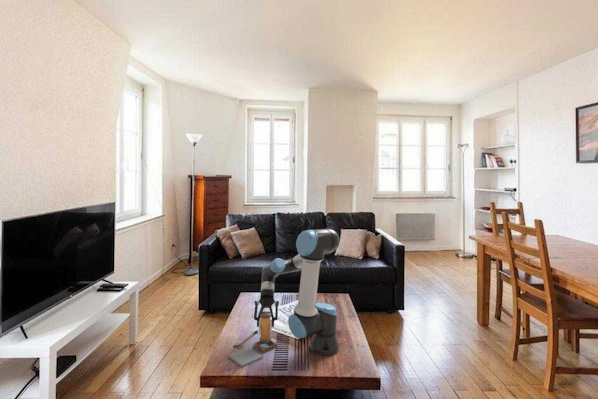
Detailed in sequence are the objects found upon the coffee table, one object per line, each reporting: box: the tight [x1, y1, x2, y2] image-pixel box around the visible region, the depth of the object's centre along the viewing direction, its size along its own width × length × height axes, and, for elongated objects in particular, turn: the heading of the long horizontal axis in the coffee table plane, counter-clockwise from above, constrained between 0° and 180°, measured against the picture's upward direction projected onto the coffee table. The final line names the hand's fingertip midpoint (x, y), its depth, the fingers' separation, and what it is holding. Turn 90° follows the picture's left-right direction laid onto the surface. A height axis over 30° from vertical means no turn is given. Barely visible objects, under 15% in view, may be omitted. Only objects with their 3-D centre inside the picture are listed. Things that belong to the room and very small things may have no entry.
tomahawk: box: [233, 330, 259, 350], centre depth 178 cm, size 21×7×1 cm, turn 153°
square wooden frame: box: [253, 340, 278, 353], centre depth 171 cm, size 9×9×2 cm
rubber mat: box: [228, 347, 264, 368], centre depth 160 cm, size 12×12×1 cm
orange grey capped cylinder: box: [259, 311, 272, 344], centre depth 171 cm, size 6×6×14 cm
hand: (264, 332), depth 168 cm, fingers closed on orange grey capped cylinder, 5 cm apart
